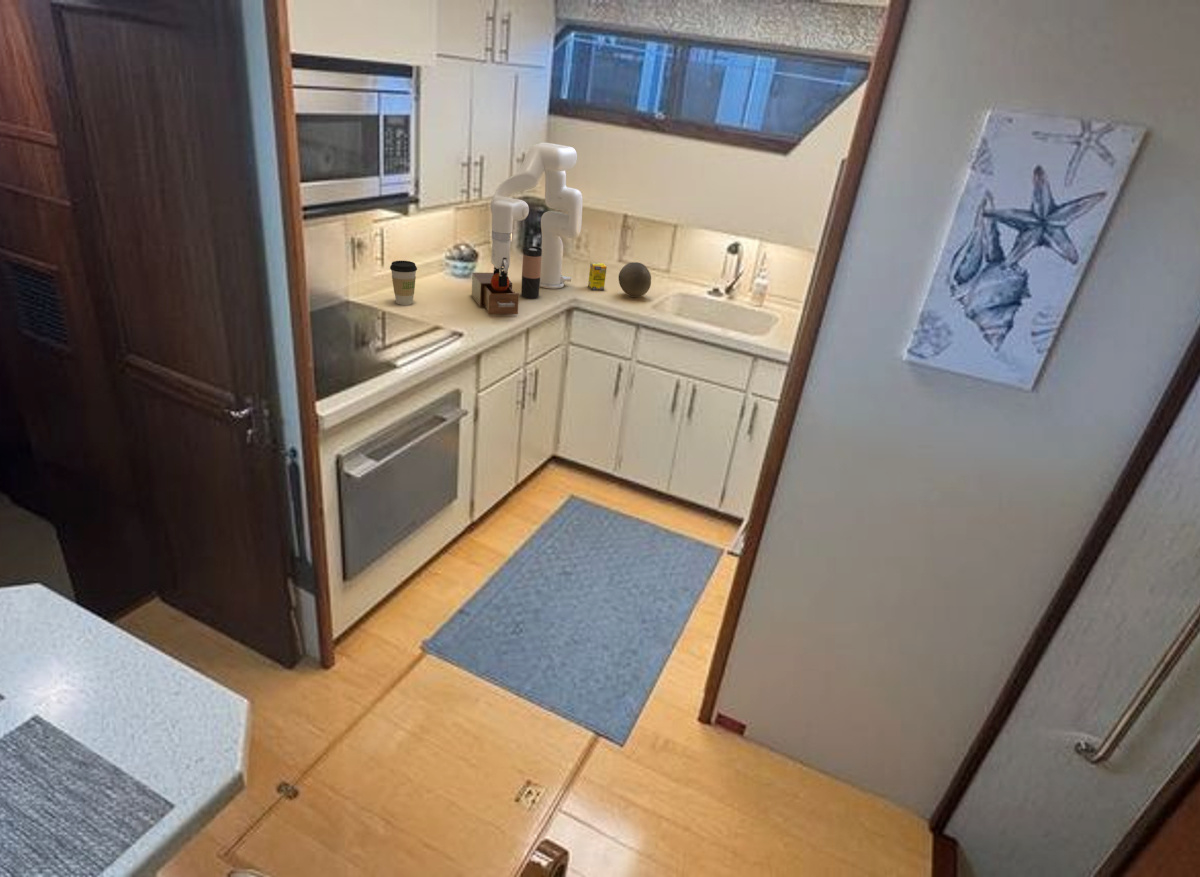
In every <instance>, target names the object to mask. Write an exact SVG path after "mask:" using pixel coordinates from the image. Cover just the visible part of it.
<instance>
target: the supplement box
mask: <svg viewBox="0 0 1200 877" xmlns="http://www.w3.org/2000/svg"><path fill="white" fill-rule="evenodd" d="M606 275H607V266H606V265H605V263H603V262H600V263H599V262H590V264H589V272H588V283H587V287H588V288H589V289H590V290H591V291H602V292H604V291H605V284H606V277H607V276H606Z"/></svg>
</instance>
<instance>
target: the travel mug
mask: <svg viewBox="0 0 1200 877" xmlns="http://www.w3.org/2000/svg"><path fill="white" fill-rule="evenodd" d="M522 251H523V253H522V266H521V267H522V268H521V288H520V289H521V290H520V291H521V292H520V293H521V297H522V298H524V299H527V300H528V299H529V300H536V299H538V298H539V294H540V275H541V258H542V249H541V247H539V246H533V245H532V246H529V247H528V246H524V247H523V250H522Z"/></svg>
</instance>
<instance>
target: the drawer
mask: <svg viewBox="0 0 1200 877" xmlns="http://www.w3.org/2000/svg"><path fill="white" fill-rule="evenodd" d="M519 298H520V294H519V293H518V292H515V291H514V290H513V288H512V289H511V288H510V286H509V287H508V288H507V289H506V290H505V291H503V292H497V291H496V290H494V289H493V287H492V285H483V292H482V303H483V304H484V306H485V307H484V308H485V309H486V310H487V314H488V315H519V314H518V313H519Z"/></svg>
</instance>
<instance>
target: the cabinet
mask: <svg viewBox="0 0 1200 877" xmlns="http://www.w3.org/2000/svg"><path fill="white" fill-rule="evenodd" d="M471 274H472V275H471V297H472V299H473V300H474V301H475V302H476V304H477V305H478V307H479V308H486V307H485V306H484V304H483V303H482V292H483V285H491V278H492V276H493V275H494V272H471ZM509 286H510V288H511V289H512V290H513V281H511V280H510V279H509Z"/></svg>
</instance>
